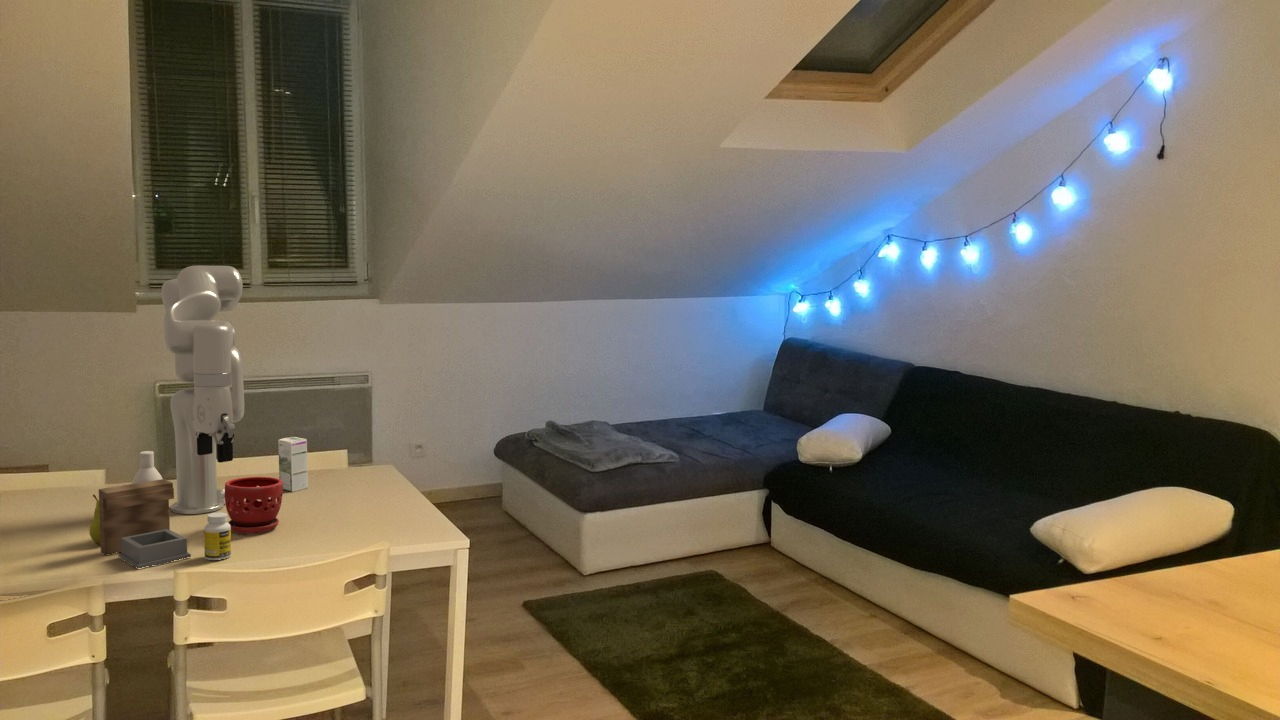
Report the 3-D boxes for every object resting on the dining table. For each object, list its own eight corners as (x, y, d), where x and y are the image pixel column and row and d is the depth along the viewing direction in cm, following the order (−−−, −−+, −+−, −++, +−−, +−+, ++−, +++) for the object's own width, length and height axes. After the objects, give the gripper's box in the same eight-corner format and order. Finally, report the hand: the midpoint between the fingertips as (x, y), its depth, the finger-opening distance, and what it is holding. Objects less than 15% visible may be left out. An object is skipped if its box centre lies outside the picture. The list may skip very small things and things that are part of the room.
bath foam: (129, 539, 227) (126, 455, 224) (137, 531, 234) (134, 449, 231) (161, 538, 228) (158, 455, 226) (168, 530, 235) (166, 448, 233)
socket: (169, 547, 222) (169, 527, 222) (190, 558, 215) (190, 538, 215) (118, 557, 214) (117, 537, 214) (138, 569, 207) (137, 549, 206)
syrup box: (308, 488, 277) (308, 438, 276) (291, 492, 272) (290, 441, 271) (295, 485, 280) (294, 435, 279) (278, 489, 275) (277, 439, 274)
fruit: (123, 540, 227) (121, 489, 225) (110, 547, 221) (108, 496, 219) (98, 539, 226) (95, 489, 225) (84, 547, 221) (82, 495, 219)
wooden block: (165, 540, 227) (163, 478, 226) (175, 545, 224) (173, 483, 222) (101, 553, 217) (98, 489, 215) (110, 558, 213) (107, 493, 212)
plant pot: (277, 536, 233) (276, 487, 231) (219, 537, 230) (218, 488, 229) (288, 520, 245) (287, 474, 244) (233, 521, 243) (231, 474, 242)
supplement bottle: (221, 562, 213) (220, 518, 212) (199, 560, 214) (198, 516, 213) (236, 554, 218) (235, 512, 217) (214, 552, 219) (213, 510, 218)
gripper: (178, 377, 215) (180, 454, 216) (213, 386, 203) (215, 467, 205) (212, 375, 220) (214, 449, 222) (248, 383, 209) (250, 461, 211)
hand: (214, 457), depth 213 cm, fingers open, 9 cm apart
